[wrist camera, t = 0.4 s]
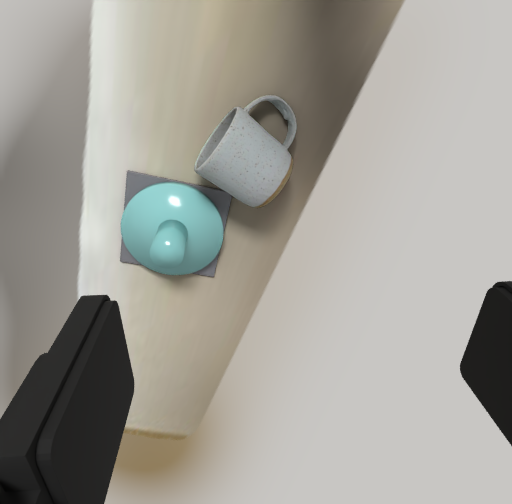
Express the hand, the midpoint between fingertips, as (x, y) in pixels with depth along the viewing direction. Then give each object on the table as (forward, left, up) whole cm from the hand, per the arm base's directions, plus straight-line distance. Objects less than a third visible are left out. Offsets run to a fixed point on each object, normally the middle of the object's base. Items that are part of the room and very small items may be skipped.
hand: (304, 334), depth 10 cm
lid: (+16, -6, -34) cm, 38 cm away
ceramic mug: (+3, +1, -35) cm, 35 cm away
